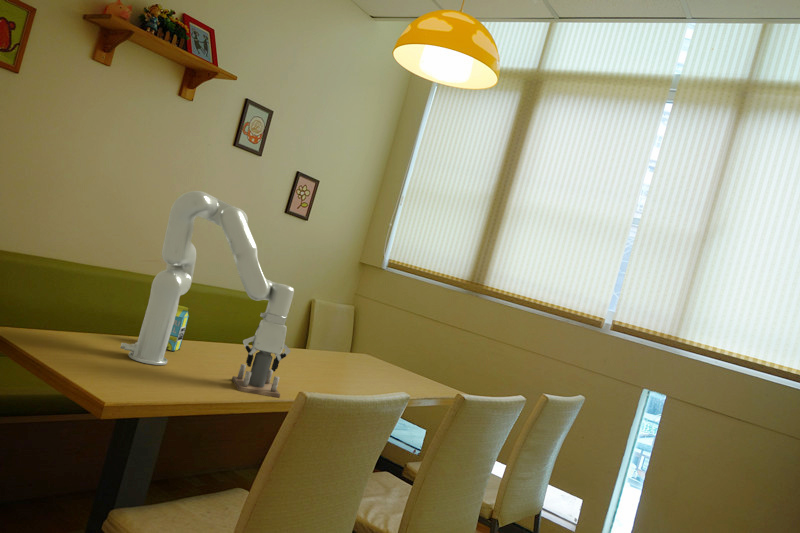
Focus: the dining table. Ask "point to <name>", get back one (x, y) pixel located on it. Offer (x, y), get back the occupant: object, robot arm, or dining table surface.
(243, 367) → the pegboard
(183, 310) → the carton
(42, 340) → the dining table surface
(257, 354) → the bottle
